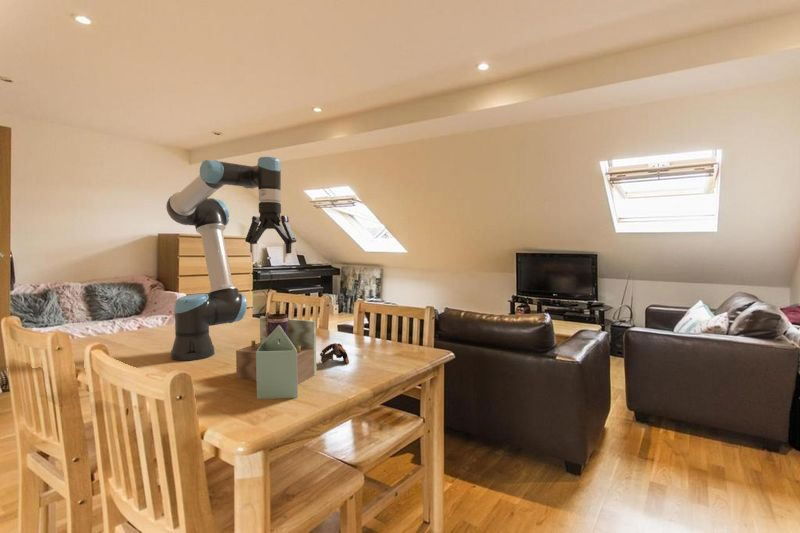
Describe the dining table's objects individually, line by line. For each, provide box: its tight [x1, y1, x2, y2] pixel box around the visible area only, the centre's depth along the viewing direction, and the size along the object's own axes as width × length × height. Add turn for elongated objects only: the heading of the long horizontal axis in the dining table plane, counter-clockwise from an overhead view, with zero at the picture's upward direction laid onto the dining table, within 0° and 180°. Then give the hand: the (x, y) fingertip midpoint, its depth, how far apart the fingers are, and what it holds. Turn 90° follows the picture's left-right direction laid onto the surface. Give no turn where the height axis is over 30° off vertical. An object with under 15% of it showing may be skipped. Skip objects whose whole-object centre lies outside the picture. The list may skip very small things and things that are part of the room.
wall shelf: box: [235, 315, 317, 385], centre depth 137 cm, size 22×13×18 cm, turn 68°
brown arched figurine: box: [319, 342, 350, 365], centre depth 153 cm, size 12×10×8 cm
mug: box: [265, 311, 289, 344], centre depth 135 cm, size 10×7×12 cm
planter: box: [256, 325, 299, 400], centre depth 120 cm, size 16×8×20 cm, turn 52°
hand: (270, 262), depth 148 cm, fingers open, 13 cm apart
